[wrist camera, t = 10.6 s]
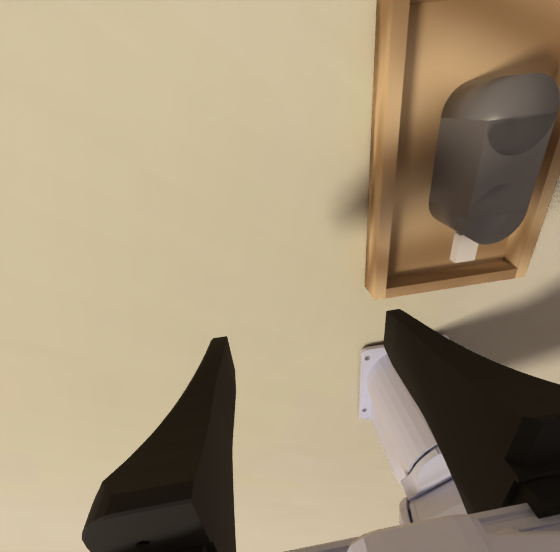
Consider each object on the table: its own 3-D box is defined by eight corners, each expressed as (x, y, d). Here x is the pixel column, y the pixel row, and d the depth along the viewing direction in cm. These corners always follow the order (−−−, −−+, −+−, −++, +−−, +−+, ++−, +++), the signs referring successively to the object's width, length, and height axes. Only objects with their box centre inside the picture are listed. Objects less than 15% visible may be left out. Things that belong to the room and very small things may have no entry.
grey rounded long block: (468, 244, 23) (509, 269, 20) (421, 251, 23) (454, 277, 19) (505, 75, 18) (570, 68, 14) (445, 82, 18) (497, 76, 14)
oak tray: (504, 264, 25) (524, 276, 23) (364, 285, 24) (374, 299, 23) (590, -32, 16) (633, -48, 15) (377, -11, 16) (395, -26, 14)
